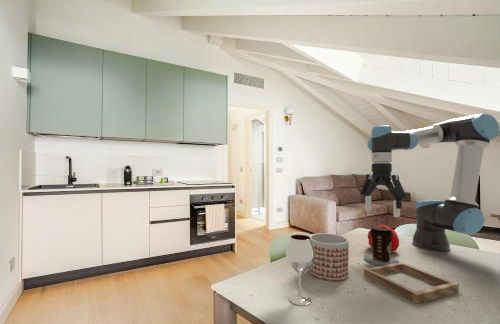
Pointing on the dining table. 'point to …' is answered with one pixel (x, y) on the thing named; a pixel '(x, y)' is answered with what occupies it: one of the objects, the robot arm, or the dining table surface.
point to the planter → (329, 257)
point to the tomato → (394, 239)
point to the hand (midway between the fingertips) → (381, 213)
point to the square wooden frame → (418, 297)
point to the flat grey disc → (370, 259)
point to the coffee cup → (381, 243)
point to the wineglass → (300, 263)
